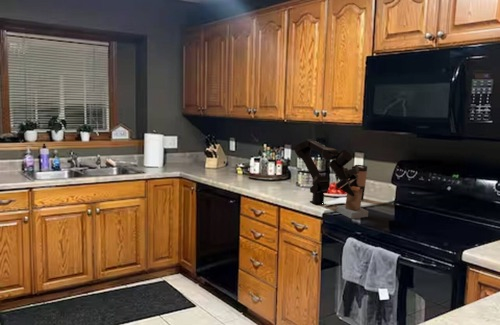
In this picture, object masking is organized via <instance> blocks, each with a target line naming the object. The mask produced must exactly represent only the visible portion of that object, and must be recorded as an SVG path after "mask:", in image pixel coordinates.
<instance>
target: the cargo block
mask: <svg viewBox="0 0 500 325" xmlns="http://www.w3.org/2000/svg"><path fill="white" fill-rule="evenodd" d="M351 189H352V190H355V191H359V190H360V187H355V186H352V187H351Z"/></svg>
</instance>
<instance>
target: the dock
mask: <svg viewBox="0 0 500 325" xmlns="http://www.w3.org/2000/svg"><path fill="white" fill-rule="evenodd" d="M345 207H346V204H344V205H337V206H336V213H339V214H341V215H343V216H345V217H347V218H349V219H360V218H368V217H369V210H367V209H364V208H363V207H360V209H359V210H357V211H354V210H349V209H345Z"/></svg>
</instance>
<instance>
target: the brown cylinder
mask: <svg viewBox="0 0 500 325" xmlns="http://www.w3.org/2000/svg"><path fill="white" fill-rule="evenodd" d="M352 191H353V193H354V195H355V196H351V195H350V194H348V193H346V199H345V205H346V207H345V209H349V210H354V211H357V210H359V209H360V208H361V206H362V203H361V202H362V200H361V197H362V189H360V190H359V191H355V190H352Z"/></svg>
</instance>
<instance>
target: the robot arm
mask: <svg viewBox="0 0 500 325" xmlns="http://www.w3.org/2000/svg"><path fill="white" fill-rule="evenodd" d="M312 150H314V151H315V152H317V153H319V154H320V155H321V157H322V158H323V159H325V160H326V161H328V162H327V163H326V168H327V169H329V168H330V169H331V170H332V172H333V173H334V177H335V178H338V179H339V181H338V182H336V183H335V184H336V185H335V187H336V189H338V190H341V191H343V192H344V193H346V194H347V193H348V194H350V195H351V196H355V195H354V193H353V191H352V189H351V187H352V186H355V187H359V186H358V183H357V181H358V175H357V174H358V173H359V168H358V167H357V166H354V165H353V166H351V168H350V169H348V167H344V166H346V165H347V164H348V163H349V162H351V161H352V160H353V156H352V154H351V153H350V152H348V151H347V150H346V149H341V151H340V152H339V151H338V149H336V148H333V147H327V146H325V145H323V144H322V143H320V142H318V141H316V140H315V139H306V140H304V141H303V142H300V143H299V144H296V145H295V147H294V153H295V155H297V157H298V158H300V159H301V160H302V162H303V163H304V165H305V167H306V168H307V170H308V173H309V174H310V176H311V178H312V186H310V188H309V192H310V193H311V194H312V199H311V200H309V203H310V204H313V205H314V206H320V204H322V203H325V202H324V201H325V200H324V199H325V194H327V193H328V191H329V189H330V180H328V177H327V176H326V175H322V174H321V173H320V171H319V169H318V167H317V166H316V164H315V162H314V160H313V158H312V156H311V152H312ZM356 178H357V179H356Z"/></svg>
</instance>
